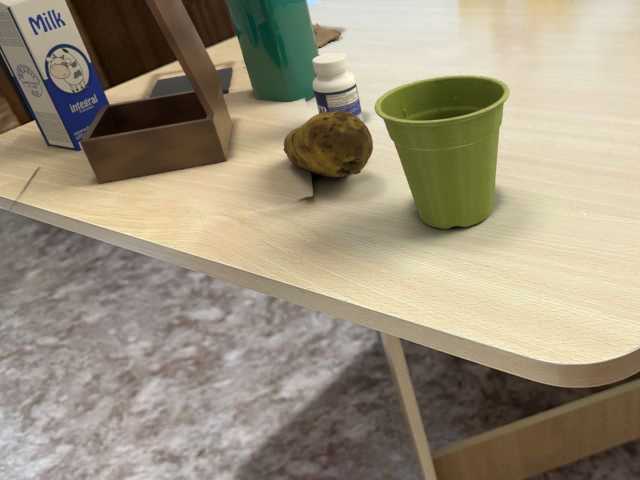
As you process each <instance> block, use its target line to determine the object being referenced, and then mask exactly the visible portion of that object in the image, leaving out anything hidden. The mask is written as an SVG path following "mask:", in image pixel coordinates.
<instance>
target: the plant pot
mask: <svg viewBox="0 0 640 480" xmlns="http://www.w3.org/2000/svg"><path fill="white" fill-rule="evenodd" d="M510 92H511V91H510V87H509V86H508V84H507V83H506V82H504V81H503V80H499V79H498V78H493V77H490V76H483V75H470V74H462V75H444V76H436V77H429V78H425V79H419V80H415V81H413V82H409V83H405V84H402V85H399V86H396V87H395V88H391V89H390V90H388V91H387V92H385V93H384V94H382V95H381V96H379V97H378V98H377V100H376V102H375V103H374V107H373V108H374V111H375V113H376V115H377V116H378V117H379V118H381V119H382V120H383V123H384V125H385V127H386V130H387V134H388V137H389V138H390V139H391V141H392V142H393V145H394V147H395V149H396V153H397V156H398V159H399V161H400V164H401V167H402V170H403V173H404V176H405V178H406V181H407V185H408V187H409V190H410V193H411V195H412V199H413V201H414V204H415V208H416V211H417V214H418V216H419V218H420V220H421V221H422V222H423V223H424V224H426V225H427V226H430V227H433V228H437V229H442V230H443V229H450V228H452V227H461V228H466V227H471V226H473V225H476V224H478V223H480V222H482V221H484V220H486V219H487V218H488V217H489V216H490V215H491V214H492V213H493V209H494V205H495V195H496V194H495V193H496V192H495V191H496V179H497V178H496V175H497V165H498V153H499V152H498V151H499V140H500V139H499V138H500V128H501V126H502V123H503V116H504V105H505V102H507V100H508V98H509V96H510Z"/></svg>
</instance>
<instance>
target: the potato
mask: <svg viewBox="0 0 640 480" xmlns="http://www.w3.org/2000/svg"><path fill="white" fill-rule="evenodd" d="M364 123H365V122H364ZM364 123H363V122H362V121H361V120H360V119H359V118H358V117H357V116H355V115H353V114H351V113H349V112H346V111H336V112H331V111H330V112H322V113H320V114H319V113H317V114H315V115H313V116H312V117H310V118H309V119H308V120H307V121H306V122H305V123H303V124H302V125H301V126H298V127H296V128H294V129H293V130H291V131H290V132H288V134H287V135H286V136H285V137H284V140H283V152H284V153H285V154H286V156H287V159H288V160H289V162H291V164H293V165H295V166H296V167H298V168H299V169H302V170H303V169H304V170H307V171H309V172H311V173H314V174H317V175H320V176H322V177H325V178H327V177H328V178H342V177H343V178H344V177H347V176H350V175H358V174H361V171H362V170H363V169H364V168H365V166H366V165H367V163H368V161H369V160H370V158H371V157H372V154H373V152H374V151H373V150H374V141H373V140H374V139H373V137H372V134H371V132H370V130H369V128H368V126H367V125H366V124H364Z"/></svg>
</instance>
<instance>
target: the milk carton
mask: <svg viewBox="0 0 640 480" xmlns="http://www.w3.org/2000/svg"><path fill="white" fill-rule="evenodd" d="M83 41H84V40H83V38H82V36H81V33H80V31H79V30H78V28H77V25H76V22H75V20H74V18H73V15H72V13H71V11H70V8H69V6H68V4H67V2H66V0H0V54H1V57H2V58H3V60H4V62H5V64H6V67H7V68H8V70H9V73H10V74H11V76H12V79H13V80H14V82H15V84H16V86H17V89H18V90H19V92H20V95H21V96H22V98H23V100H24V102H25V104H26V106H27V108H28V110H29V112H30V114H31V115H32V118H33V120H34V123H35V124H36V126H37V128H38V130H39V132H40V134H41V136H42V138H43V139H44V142H45V144H46V146H47V147H52V148H58V149H64V150H70V151H76V152H81V151H84V150H83V148H82V146H81V144H80V142H81V140H82V138H83V136H84V135H85V133H86V132H87V130H88V128H89V127H90V125H91V124H92V122H93V120H94V119H95V117H96V115H97V114H98V112H99V111H100V109H101V107H102V106H103V105H109V104H110V102H109V100H108V97H107V95H106V92H105V90H104V88H103V86H102V83H101V81H100V78H99V77H98V74H97V72H96V69H95V67H94V64H93V62H92V60H91V58H90V55H89V53H88V51H87V48H86V46H85V43H84V42H83Z"/></svg>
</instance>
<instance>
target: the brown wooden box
mask: <svg viewBox="0 0 640 480" xmlns="http://www.w3.org/2000/svg"><path fill="white" fill-rule="evenodd" d="M233 127H234V125H233V121H232V118H231V115H230V112H229V108H228V105H227V102H226V99H225V96H224V94H223V93H222V90H221V87H220V91H219V95H218V100H217V104H216V109H215V113H214V114H213V115H210V116H207V114H206V112H205V110H204V108H203V106H202V104H201V103H200V101H199V99H198V97H197V95H196V93H195V91H194V90H192V91H186V92H180V93H174V94H168V95H162V96H157V97H151V98H149V97H145V98H139V99H134V100H127V101H122V102H115V103H109V105H103V106H102V107H101V109H100V111H99V112H98V114H97V115H96V117H95V119H94V120H93V122H92V124H91V125H90V127H89V128H88V130H87V132H86V133H85V135H84V136H83V138H82V140H81V142H80V144H81V146H82V148H83V150H82V151H83V153H84V154H85V157H86V158H87V160H88V163H89V165H90V167H91V169H92V171H93V173H94V176H95V178H96V180H97V182H98V185H104V184H109V183H115V182H121V181H127V180H131V179H132V180H133V179H139V178H143V177H148V176H154V175H159V174H165V173H166V174H167V173H170V172H176V171H183V170H187V169H188V170H189V169H193V168H199V167H205V166H208V165H209V166H210V165H215V164H221V163H222V164H223V163H226V162H228V157H229V151H230V144H231V138H232V132H233Z"/></svg>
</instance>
